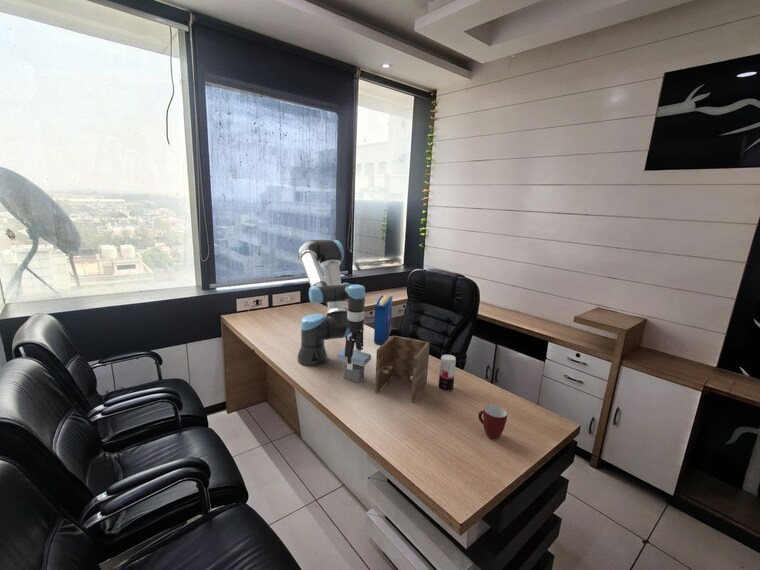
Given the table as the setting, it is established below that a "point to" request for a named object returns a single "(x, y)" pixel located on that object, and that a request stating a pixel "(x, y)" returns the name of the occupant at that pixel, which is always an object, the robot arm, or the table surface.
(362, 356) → the shelf board
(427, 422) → the table surface
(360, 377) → the riser block
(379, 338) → the book
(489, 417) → the mug
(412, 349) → the bookcase frame
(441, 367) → the beverage can
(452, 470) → the table surface
